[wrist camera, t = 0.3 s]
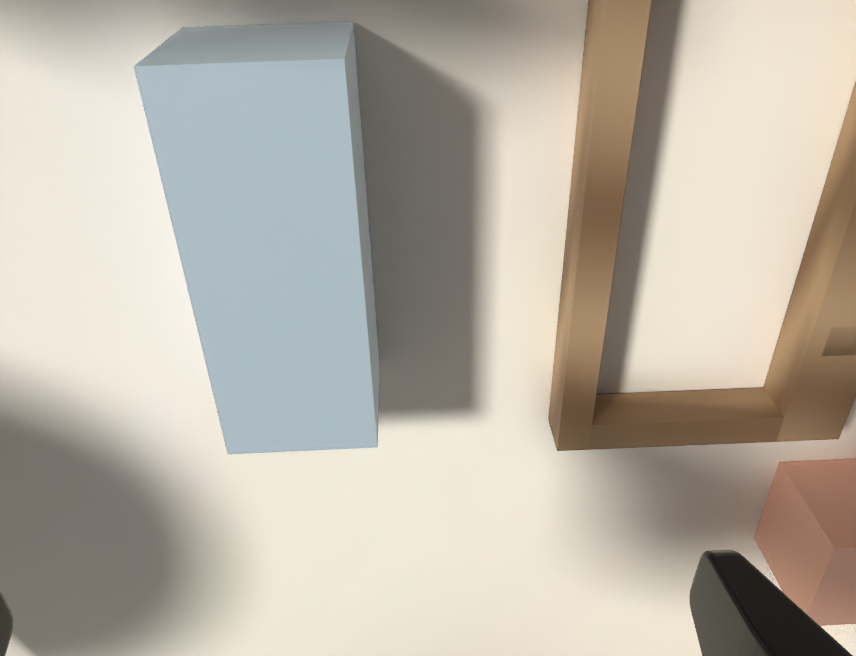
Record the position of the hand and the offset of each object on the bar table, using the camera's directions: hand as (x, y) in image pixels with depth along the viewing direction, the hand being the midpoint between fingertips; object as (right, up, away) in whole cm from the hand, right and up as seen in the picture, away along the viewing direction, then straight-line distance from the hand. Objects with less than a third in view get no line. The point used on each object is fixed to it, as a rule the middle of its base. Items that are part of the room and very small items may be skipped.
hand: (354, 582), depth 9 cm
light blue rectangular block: (-3, +6, +11) cm, 13 cm away
